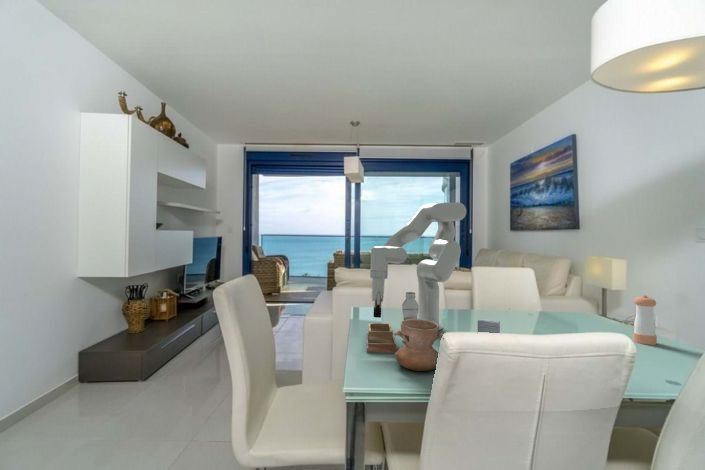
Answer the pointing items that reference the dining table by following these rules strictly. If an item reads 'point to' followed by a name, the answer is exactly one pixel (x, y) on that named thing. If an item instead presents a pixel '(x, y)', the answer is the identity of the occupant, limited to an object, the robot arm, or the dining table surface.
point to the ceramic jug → (418, 344)
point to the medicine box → (488, 326)
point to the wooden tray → (381, 346)
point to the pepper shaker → (644, 321)
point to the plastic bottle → (410, 307)
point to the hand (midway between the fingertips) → (377, 317)
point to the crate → (380, 333)
